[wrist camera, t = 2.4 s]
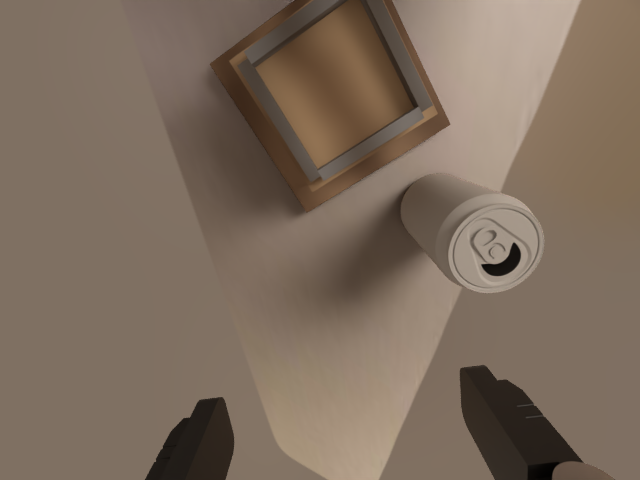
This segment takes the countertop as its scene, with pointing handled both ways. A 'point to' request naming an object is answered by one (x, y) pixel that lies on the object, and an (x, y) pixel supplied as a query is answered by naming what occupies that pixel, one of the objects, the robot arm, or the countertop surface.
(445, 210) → the beverage can
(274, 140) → the plinth
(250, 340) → the countertop surface
